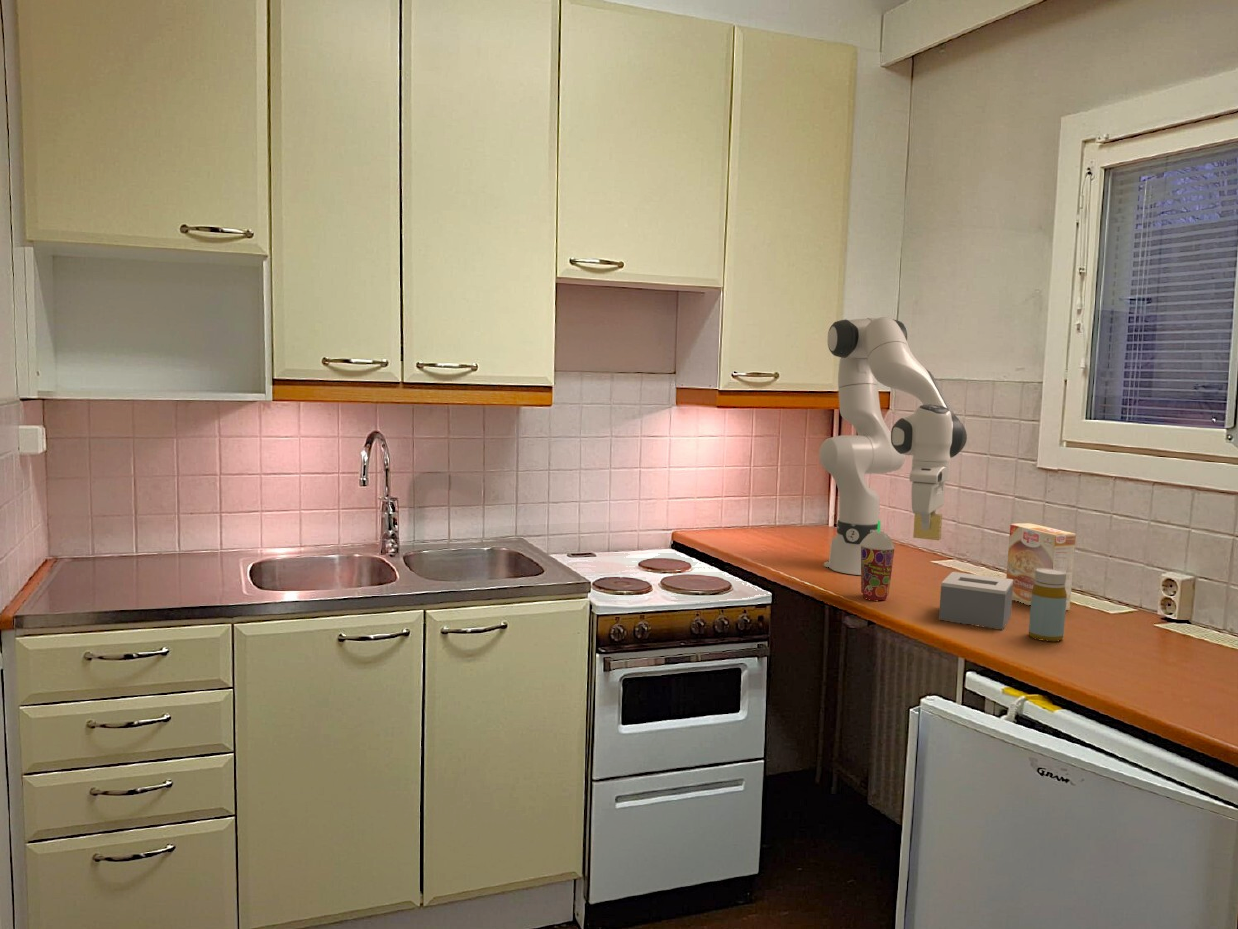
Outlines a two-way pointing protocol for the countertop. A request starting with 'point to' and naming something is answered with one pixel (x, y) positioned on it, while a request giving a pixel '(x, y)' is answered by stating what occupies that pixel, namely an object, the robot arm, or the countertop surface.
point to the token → (935, 527)
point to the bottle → (1048, 605)
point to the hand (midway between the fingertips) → (927, 528)
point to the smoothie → (876, 565)
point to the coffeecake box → (1038, 557)
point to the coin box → (976, 600)
